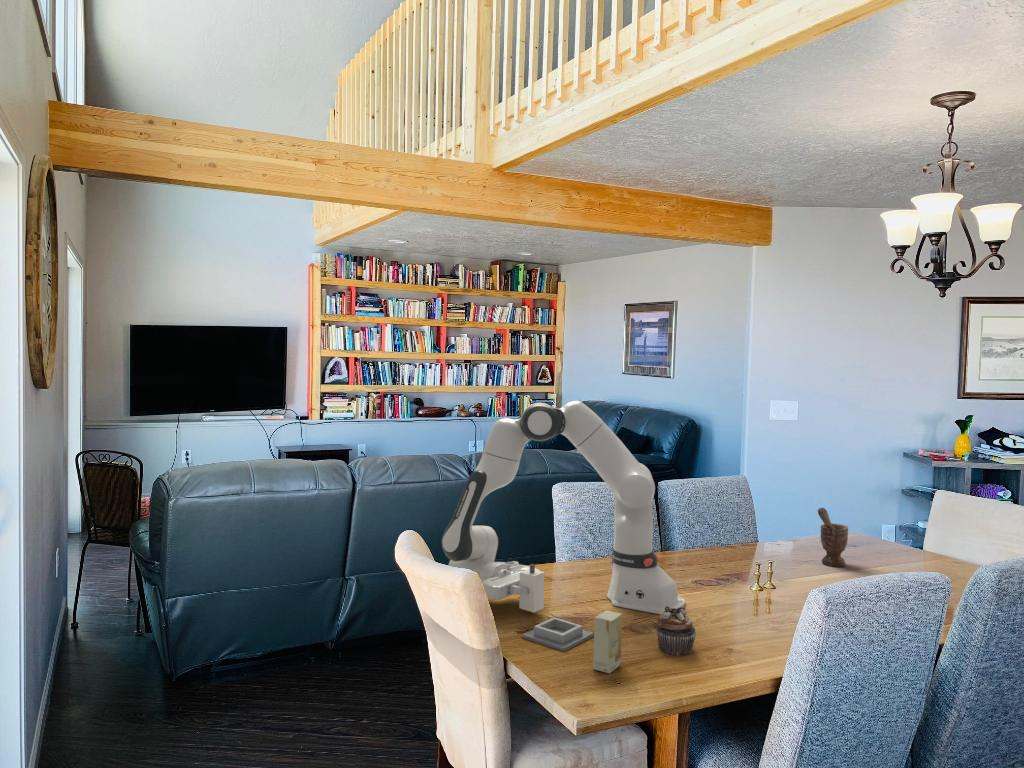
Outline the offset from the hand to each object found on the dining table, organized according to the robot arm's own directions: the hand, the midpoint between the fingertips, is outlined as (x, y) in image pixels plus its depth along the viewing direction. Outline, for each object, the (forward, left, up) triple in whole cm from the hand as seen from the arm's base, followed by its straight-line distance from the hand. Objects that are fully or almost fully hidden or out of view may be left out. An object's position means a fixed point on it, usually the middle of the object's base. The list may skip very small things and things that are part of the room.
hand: (534, 588), depth 209 cm
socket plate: (-14, +8, -7) cm, 18 cm away
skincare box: (-33, +15, -7) cm, 37 cm away
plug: (+1, 0, -6) cm, 6 cm away
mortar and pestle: (-47, -104, -7) cm, 114 cm away
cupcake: (-40, -5, -8) cm, 41 cm away
